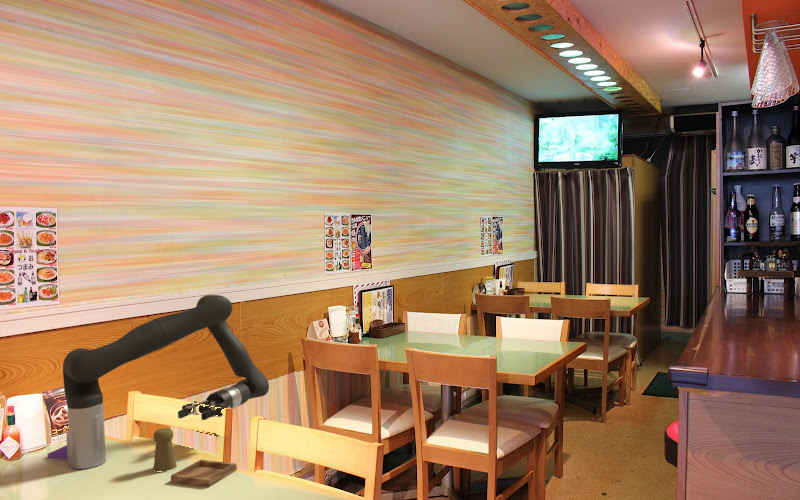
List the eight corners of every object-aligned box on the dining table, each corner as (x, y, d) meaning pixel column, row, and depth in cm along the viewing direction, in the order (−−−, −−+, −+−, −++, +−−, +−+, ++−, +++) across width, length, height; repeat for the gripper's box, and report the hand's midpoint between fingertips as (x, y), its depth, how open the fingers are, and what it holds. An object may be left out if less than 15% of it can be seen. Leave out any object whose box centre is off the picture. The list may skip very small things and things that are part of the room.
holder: (171, 482, 164) (170, 475, 164) (200, 465, 176) (200, 459, 175) (208, 487, 160) (208, 480, 160) (236, 470, 171) (236, 463, 171)
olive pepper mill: (168, 472, 171) (166, 432, 171) (149, 471, 173) (147, 432, 172) (180, 464, 177) (178, 426, 177) (161, 463, 178) (159, 425, 178)
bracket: (98, 453, 191) (96, 431, 191) (80, 461, 184) (79, 438, 184) (65, 451, 194) (64, 429, 194) (47, 458, 188) (46, 436, 188)
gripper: (205, 388, 203) (170, 402, 188) (242, 390, 198) (209, 404, 183) (206, 411, 203) (172, 427, 188) (243, 413, 198) (211, 430, 183)
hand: (190, 416), depth 185 cm, fingers open, 8 cm apart
